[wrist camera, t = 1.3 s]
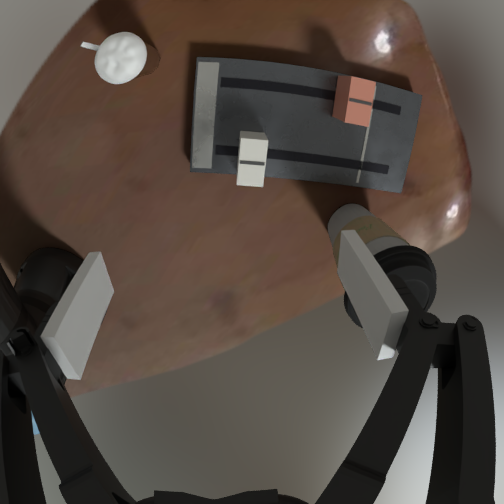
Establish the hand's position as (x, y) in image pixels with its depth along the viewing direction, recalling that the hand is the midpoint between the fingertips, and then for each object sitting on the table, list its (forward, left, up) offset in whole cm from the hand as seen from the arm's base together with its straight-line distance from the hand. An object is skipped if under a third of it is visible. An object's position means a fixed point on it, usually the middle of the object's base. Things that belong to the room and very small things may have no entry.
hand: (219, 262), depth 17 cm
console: (+8, +5, -20) cm, 22 cm away
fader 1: (+2, +2, -18) cm, 18 cm away
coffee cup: (+16, -6, -20) cm, 26 cm away
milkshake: (-10, +11, -20) cm, 25 cm away
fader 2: (+11, +9, -18) cm, 23 cm away
